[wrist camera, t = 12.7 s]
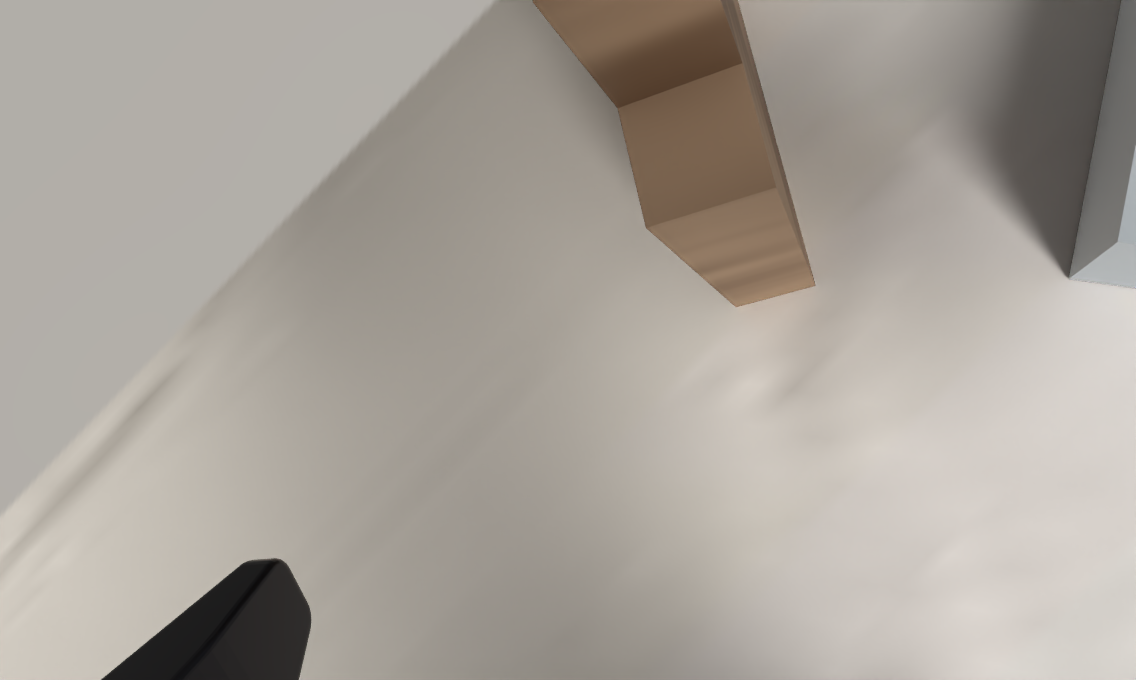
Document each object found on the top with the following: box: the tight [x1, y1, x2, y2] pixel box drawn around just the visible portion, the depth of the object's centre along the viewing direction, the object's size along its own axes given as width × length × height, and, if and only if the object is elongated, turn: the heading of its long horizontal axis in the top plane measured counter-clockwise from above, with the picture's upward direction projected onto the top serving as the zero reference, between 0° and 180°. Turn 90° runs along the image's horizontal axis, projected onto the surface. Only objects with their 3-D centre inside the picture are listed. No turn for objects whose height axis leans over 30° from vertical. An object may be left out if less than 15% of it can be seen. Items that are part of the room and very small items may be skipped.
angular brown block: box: [533, 0, 815, 307], centre depth 16 cm, size 8×2×12 cm, turn 13°
